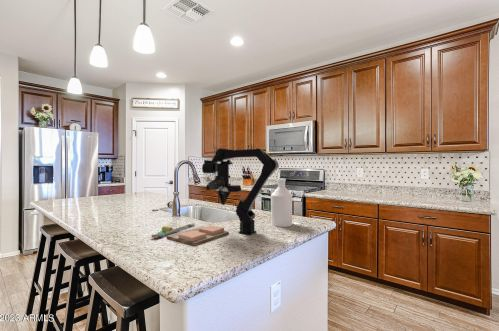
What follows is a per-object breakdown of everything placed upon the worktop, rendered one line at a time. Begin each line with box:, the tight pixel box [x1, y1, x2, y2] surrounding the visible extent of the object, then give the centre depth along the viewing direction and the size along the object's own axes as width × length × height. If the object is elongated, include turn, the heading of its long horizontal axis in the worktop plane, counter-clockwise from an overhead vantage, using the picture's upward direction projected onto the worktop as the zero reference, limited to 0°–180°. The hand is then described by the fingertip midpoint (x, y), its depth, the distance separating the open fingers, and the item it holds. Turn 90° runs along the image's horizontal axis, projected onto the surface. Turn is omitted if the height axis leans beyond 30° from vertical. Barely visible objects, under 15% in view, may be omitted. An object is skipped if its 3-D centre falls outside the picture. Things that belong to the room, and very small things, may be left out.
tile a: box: [199, 225, 225, 235], centre depth 128 cm, size 2×8×9 cm
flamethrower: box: [151, 223, 195, 239], centre depth 133 cm, size 29×3×10 cm
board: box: [166, 226, 230, 246], centre depth 124 cm, size 18×22×1 cm
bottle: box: [270, 178, 293, 228], centre depth 147 cm, size 12×12×25 cm
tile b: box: [178, 230, 206, 241], centre depth 118 cm, size 2×8×9 cm
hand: (223, 204), depth 134 cm, fingers closed
